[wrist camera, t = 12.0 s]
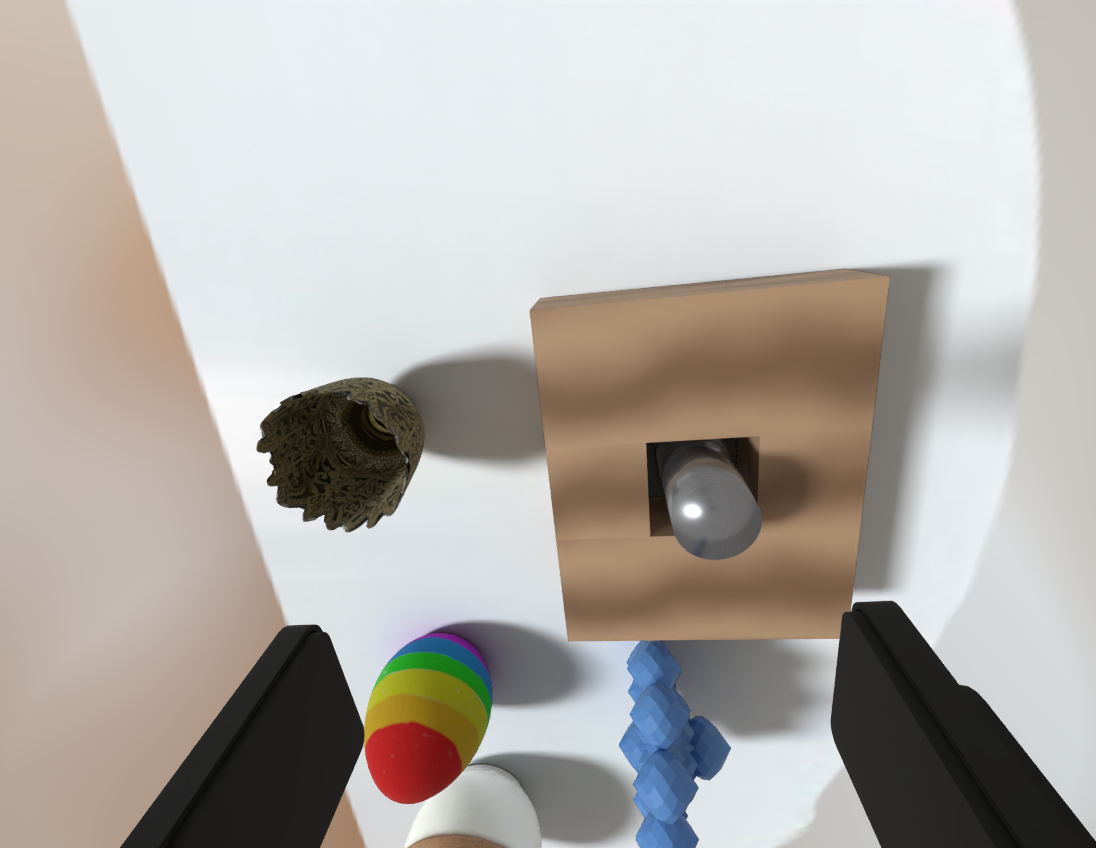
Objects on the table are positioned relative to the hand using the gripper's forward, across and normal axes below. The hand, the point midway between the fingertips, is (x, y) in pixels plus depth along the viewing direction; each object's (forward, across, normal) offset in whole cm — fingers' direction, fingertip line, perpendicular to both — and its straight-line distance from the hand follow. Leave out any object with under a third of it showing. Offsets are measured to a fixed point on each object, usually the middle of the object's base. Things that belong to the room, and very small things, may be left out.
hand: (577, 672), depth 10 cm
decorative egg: (+22, +13, +22) cm, 34 cm away
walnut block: (+22, -5, +7) cm, 23 cm away
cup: (+22, +12, +2) cm, 26 cm away
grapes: (+21, -3, +24) cm, 32 cm away
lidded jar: (+21, +12, +36) cm, 44 cm away
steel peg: (+22, -5, +7) cm, 23 cm away
